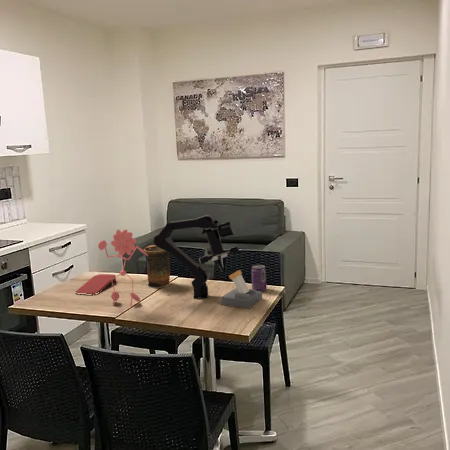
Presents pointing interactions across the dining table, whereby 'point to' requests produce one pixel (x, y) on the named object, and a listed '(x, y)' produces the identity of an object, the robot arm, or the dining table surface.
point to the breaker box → (241, 298)
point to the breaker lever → (239, 282)
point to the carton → (96, 284)
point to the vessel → (157, 267)
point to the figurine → (122, 245)
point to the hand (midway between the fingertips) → (224, 272)
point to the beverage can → (258, 277)
